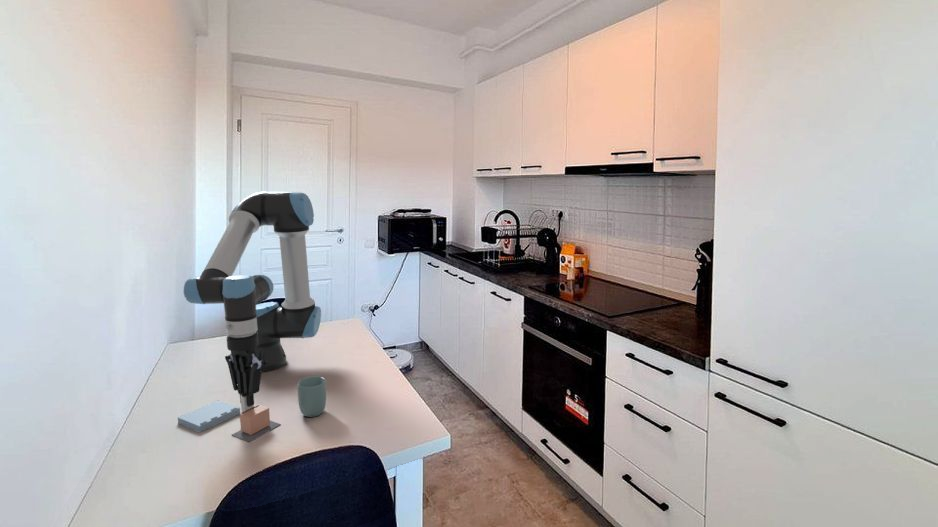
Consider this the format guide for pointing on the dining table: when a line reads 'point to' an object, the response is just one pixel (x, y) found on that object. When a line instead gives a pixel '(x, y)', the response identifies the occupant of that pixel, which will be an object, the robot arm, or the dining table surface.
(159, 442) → the dining table surface
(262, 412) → the stub
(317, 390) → the cup
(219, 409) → the board
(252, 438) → the mat
